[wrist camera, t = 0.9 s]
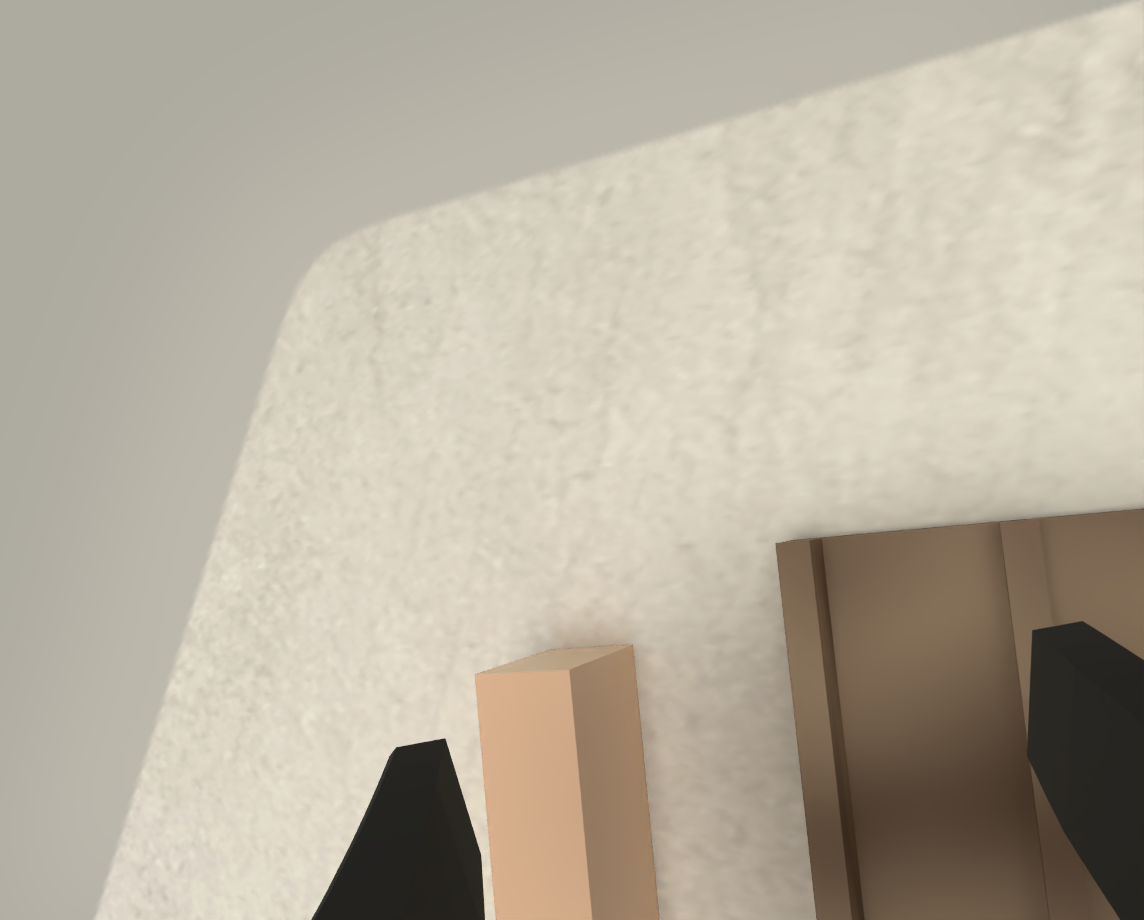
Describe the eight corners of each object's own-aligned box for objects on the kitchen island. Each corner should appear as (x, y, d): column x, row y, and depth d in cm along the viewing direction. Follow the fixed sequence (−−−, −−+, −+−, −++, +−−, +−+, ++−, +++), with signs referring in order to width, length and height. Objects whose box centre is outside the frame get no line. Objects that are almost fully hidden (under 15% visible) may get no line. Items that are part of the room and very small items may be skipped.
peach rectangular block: (670, 1012, 29) (609, 1108, 24) (584, 1006, 30) (510, 1098, 25) (634, 644, 30) (569, 669, 25) (552, 648, 31) (474, 674, 26)
